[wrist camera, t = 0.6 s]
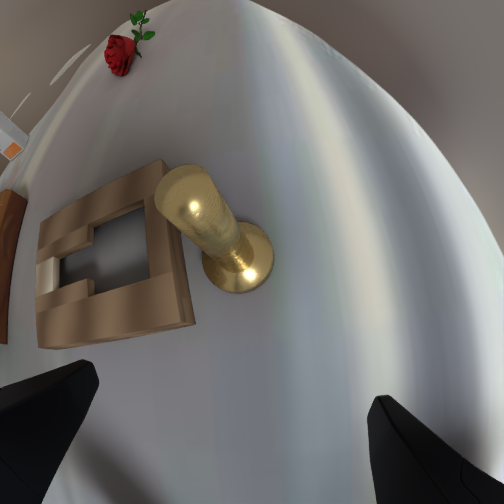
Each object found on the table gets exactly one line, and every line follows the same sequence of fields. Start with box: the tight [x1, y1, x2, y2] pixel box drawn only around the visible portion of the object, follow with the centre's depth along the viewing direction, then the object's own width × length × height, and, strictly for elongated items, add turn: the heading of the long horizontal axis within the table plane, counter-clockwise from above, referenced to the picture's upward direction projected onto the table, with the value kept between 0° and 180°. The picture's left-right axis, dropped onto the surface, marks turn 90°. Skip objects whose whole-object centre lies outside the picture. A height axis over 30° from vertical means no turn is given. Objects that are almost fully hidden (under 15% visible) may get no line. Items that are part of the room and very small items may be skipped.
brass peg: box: [155, 164, 274, 294], centre depth 17 cm, size 6×6×11 cm
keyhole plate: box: [36, 159, 196, 350], centre depth 23 cm, size 18×15×3 cm
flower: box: [104, 10, 155, 76], centre depth 38 cm, size 9×9×30 cm
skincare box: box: [0, 111, 29, 161], centre depth 35 cm, size 6×4×12 cm
